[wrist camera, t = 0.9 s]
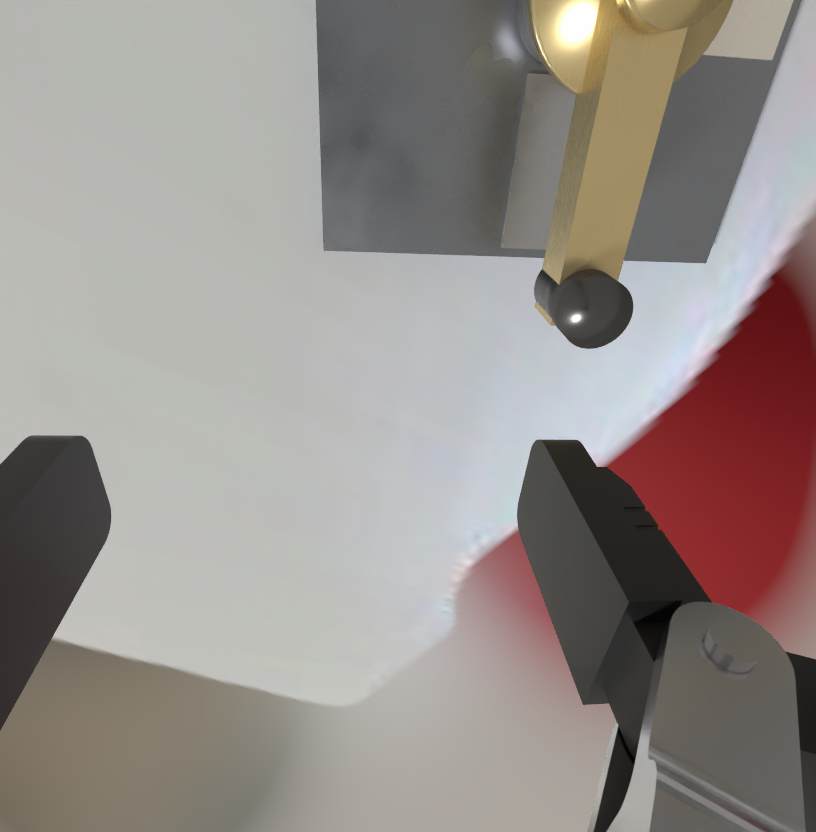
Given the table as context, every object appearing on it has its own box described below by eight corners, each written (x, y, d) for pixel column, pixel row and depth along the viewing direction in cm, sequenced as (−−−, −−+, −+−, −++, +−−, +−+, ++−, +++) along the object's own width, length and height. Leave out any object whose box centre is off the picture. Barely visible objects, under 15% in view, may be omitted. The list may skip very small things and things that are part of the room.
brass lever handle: (548, -176, 16) (604, -253, 12) (762, -149, 16) (871, -215, 13) (481, 310, 24) (503, 347, 20) (625, 313, 24) (670, 349, 21)
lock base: (304, -437, 17) (277, -719, 11) (900, -336, 19) (1142, -525, 13) (324, 244, 29) (316, 284, 23) (694, 257, 31) (774, 296, 25)
